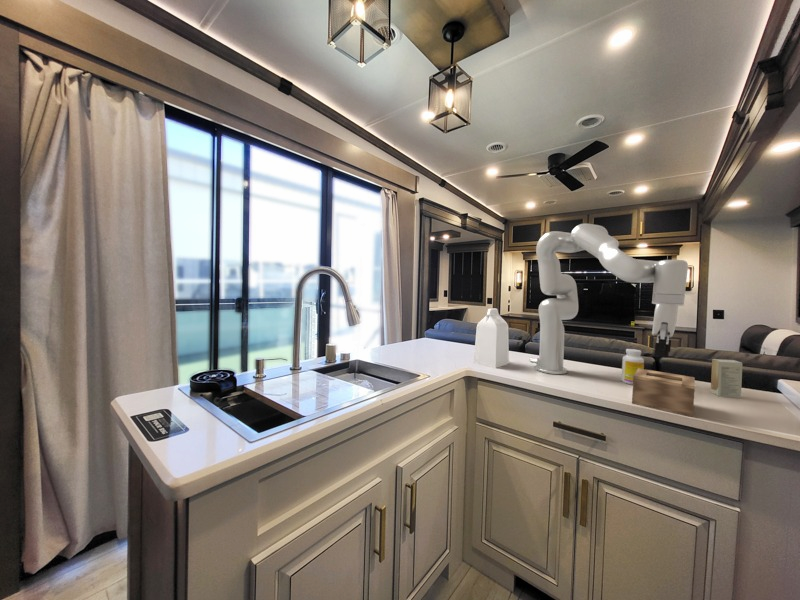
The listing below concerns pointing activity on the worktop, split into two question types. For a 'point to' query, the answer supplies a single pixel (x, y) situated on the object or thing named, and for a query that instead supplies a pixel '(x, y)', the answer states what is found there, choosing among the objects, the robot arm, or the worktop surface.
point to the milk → (492, 341)
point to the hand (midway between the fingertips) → (662, 353)
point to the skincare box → (726, 378)
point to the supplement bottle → (631, 365)
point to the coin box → (664, 391)
